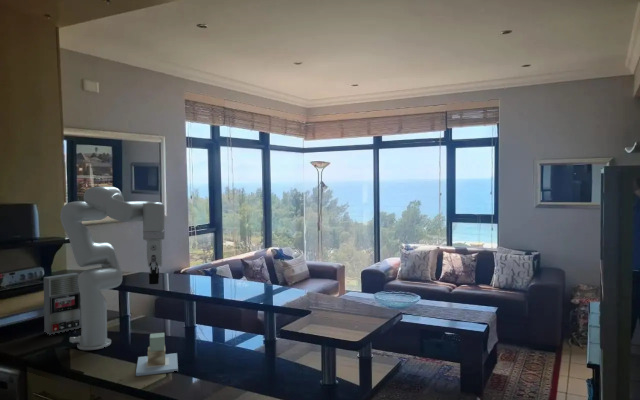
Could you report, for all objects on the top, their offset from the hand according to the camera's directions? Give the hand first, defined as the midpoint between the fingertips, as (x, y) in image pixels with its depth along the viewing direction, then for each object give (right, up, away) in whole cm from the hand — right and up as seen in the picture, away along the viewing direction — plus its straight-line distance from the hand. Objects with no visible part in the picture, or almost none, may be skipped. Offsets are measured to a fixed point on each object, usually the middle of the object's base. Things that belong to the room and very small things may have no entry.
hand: (154, 281), depth 177 cm
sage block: (+2, -24, -2) cm, 25 cm away
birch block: (+2, -29, -2) cm, 29 cm away
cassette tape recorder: (-54, -29, +37) cm, 72 cm away
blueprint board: (+2, -30, -2) cm, 31 cm away
